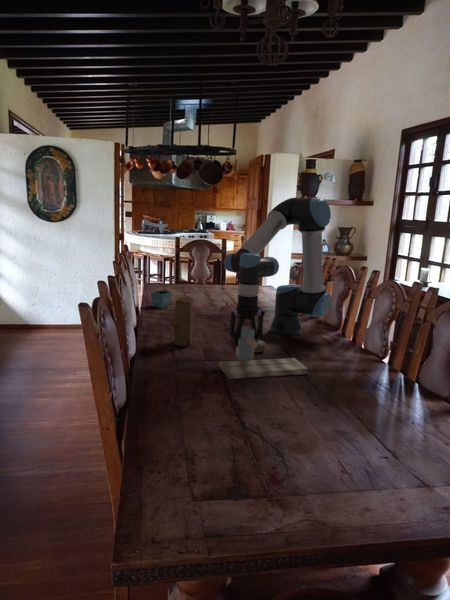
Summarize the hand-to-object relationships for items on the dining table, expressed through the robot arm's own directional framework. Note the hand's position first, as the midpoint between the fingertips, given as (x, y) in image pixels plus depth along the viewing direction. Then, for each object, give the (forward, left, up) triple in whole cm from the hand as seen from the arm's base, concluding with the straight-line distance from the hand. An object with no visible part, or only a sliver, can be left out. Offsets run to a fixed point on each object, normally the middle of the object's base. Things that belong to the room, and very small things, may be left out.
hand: (244, 354), depth 175 cm
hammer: (0, +4, -2) cm, 4 cm away
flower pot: (+19, -100, -4) cm, 101 cm away
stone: (+19, -28, -4) cm, 34 cm away
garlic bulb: (-10, -14, -4) cm, 17 cm away
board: (-4, +9, -3) cm, 11 cm away
